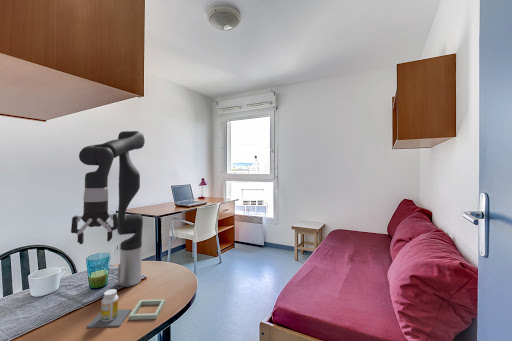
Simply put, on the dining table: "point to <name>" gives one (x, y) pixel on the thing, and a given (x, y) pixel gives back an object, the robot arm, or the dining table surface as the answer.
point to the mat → (113, 323)
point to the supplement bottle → (109, 305)
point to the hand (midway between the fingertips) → (95, 242)
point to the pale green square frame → (150, 315)
